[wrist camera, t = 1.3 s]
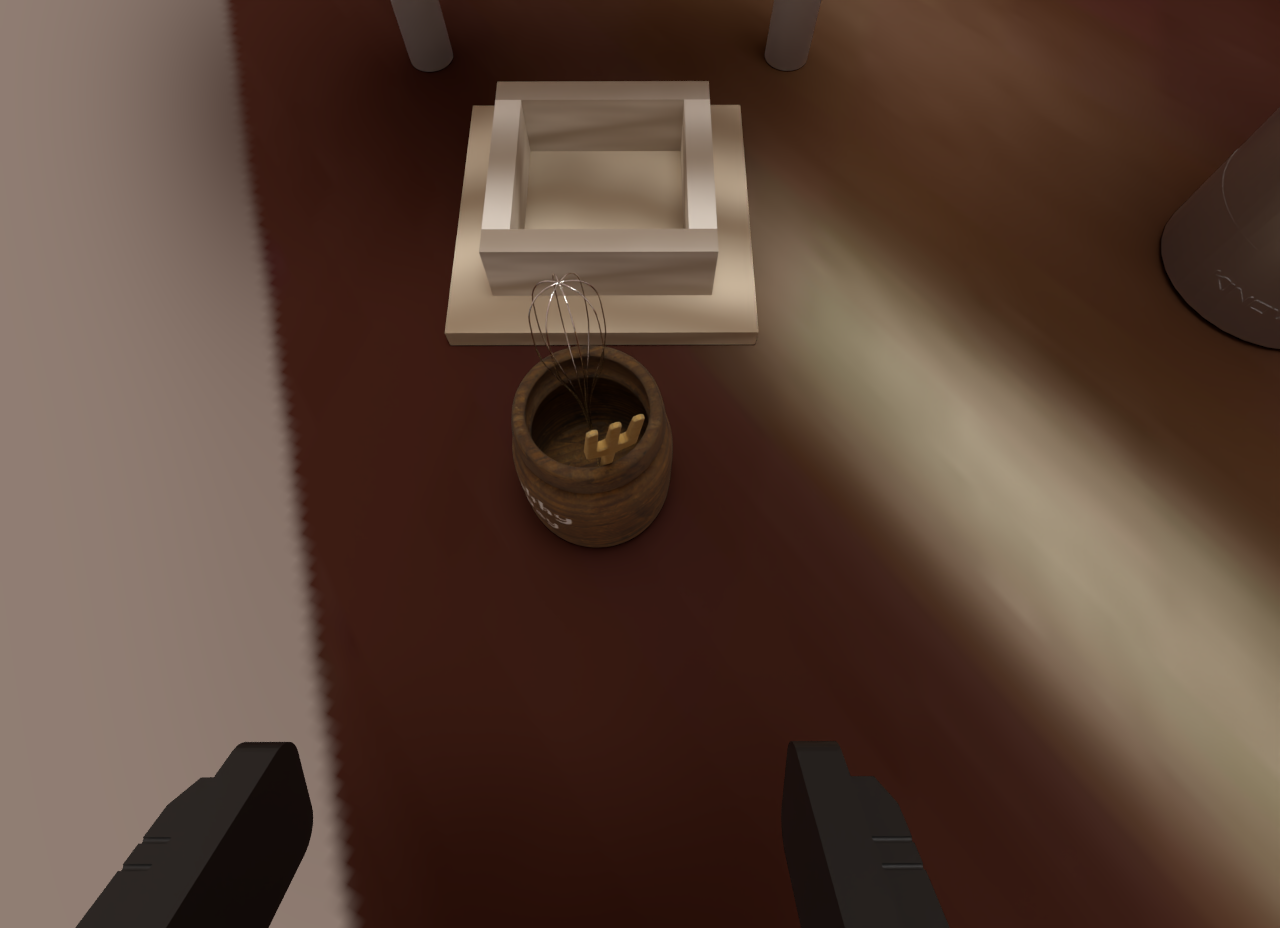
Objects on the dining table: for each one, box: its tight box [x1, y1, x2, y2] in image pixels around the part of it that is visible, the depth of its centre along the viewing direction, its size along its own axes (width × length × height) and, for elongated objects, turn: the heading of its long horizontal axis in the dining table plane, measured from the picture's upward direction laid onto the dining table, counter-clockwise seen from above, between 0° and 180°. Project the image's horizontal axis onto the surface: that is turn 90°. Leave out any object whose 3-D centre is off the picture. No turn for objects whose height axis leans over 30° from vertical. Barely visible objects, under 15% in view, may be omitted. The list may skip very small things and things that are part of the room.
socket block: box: [445, 81, 758, 345], centre depth 33 cm, size 14×14×4 cm
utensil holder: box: [512, 273, 673, 547], centre depth 24 cm, size 6×6×12 cm
